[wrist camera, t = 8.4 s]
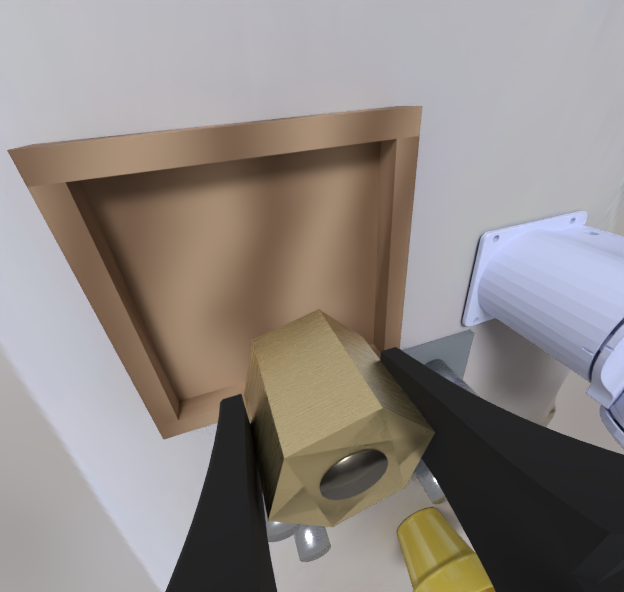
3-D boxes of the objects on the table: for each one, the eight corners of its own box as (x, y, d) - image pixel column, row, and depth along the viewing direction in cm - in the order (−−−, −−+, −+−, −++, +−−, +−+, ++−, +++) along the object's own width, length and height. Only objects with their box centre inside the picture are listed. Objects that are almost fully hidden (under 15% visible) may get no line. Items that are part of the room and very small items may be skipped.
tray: (397, 106, 16) (422, 106, 14) (383, 346, 24) (398, 364, 23) (32, 144, 12) (6, 150, 11) (165, 412, 21) (163, 439, 19)
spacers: (467, 348, 27) (511, 385, 24) (443, 449, 35) (472, 488, 31) (235, 423, 23) (244, 484, 19) (267, 520, 30) (277, 576, 27)
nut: (372, 309, 12) (454, 400, 8) (339, 406, 14) (392, 512, 10) (257, 308, 10) (295, 420, 7) (240, 418, 13) (262, 548, 9)
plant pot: (393, 512, 40) (443, 611, 32) (457, 490, 44) (517, 575, 36) (377, 551, 45) (417, 645, 37) (436, 529, 49) (484, 611, 41)
